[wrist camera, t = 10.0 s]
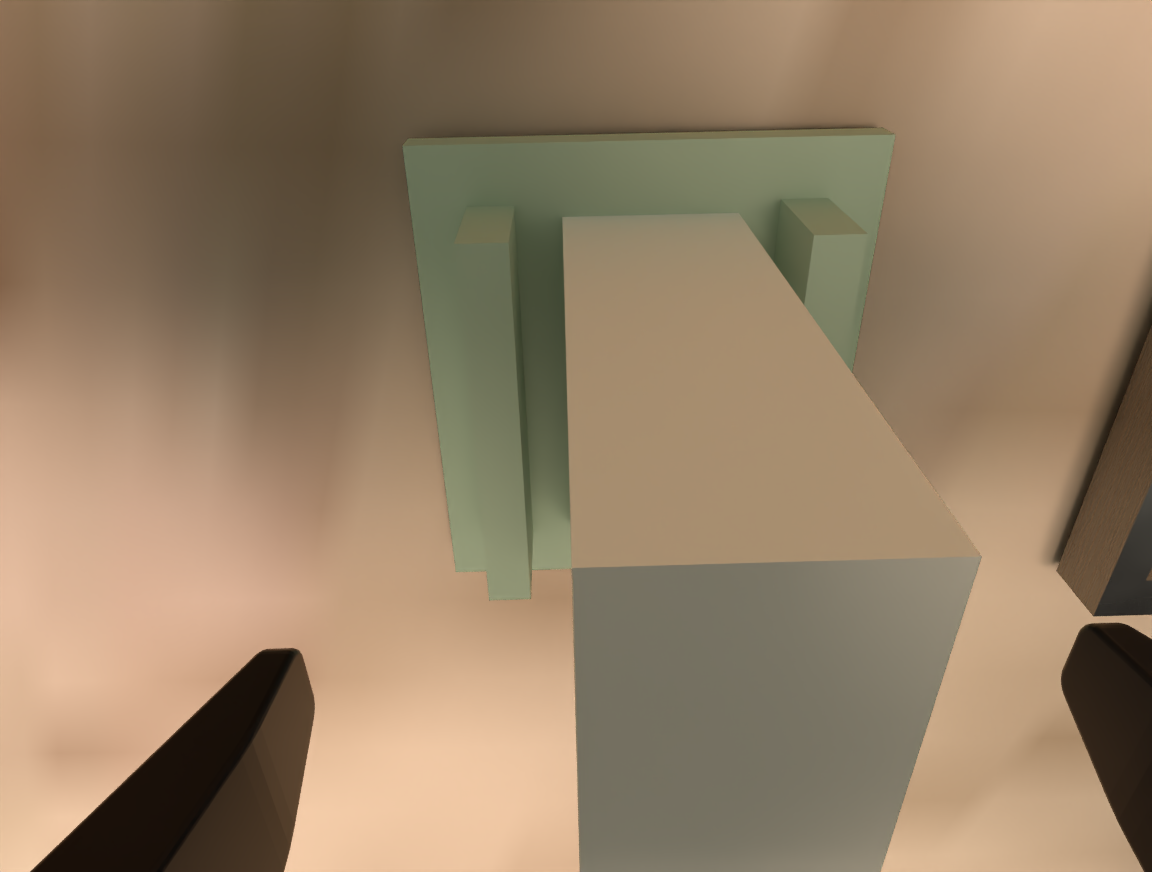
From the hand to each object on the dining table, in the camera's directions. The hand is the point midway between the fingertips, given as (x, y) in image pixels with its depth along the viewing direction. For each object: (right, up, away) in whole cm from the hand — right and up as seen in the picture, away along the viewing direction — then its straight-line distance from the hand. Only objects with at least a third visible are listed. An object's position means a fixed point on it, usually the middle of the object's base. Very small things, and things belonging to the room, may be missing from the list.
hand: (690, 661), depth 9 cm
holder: (0, +4, +6) cm, 8 cm away
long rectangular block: (0, +4, +6) cm, 7 cm away
